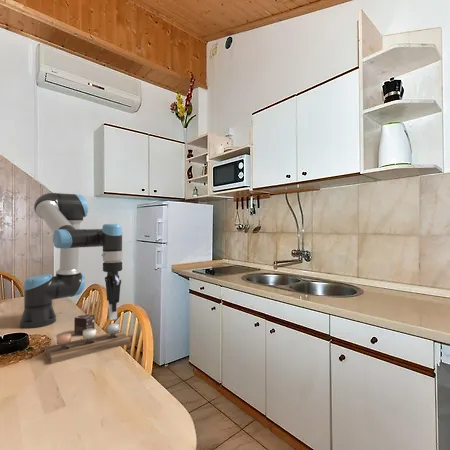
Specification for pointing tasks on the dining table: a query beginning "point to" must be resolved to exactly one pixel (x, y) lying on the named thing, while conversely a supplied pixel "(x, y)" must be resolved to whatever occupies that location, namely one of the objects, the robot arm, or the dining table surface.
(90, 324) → the box
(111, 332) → the grey knob
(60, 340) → the pink rounded piece
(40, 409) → the dining table surface
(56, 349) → the panel
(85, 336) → the key ivory
